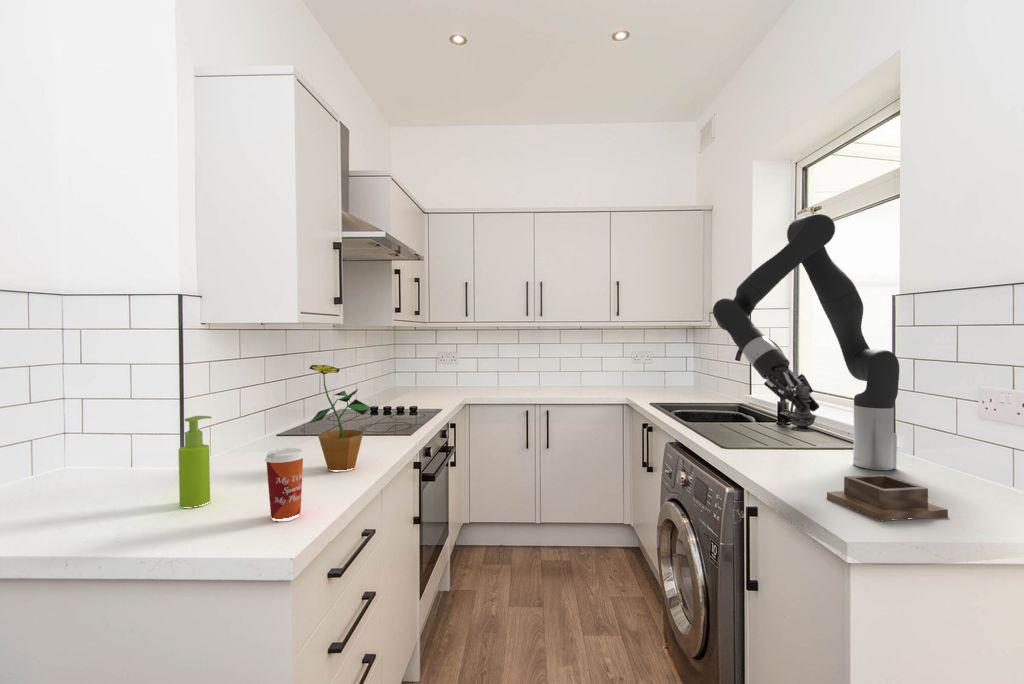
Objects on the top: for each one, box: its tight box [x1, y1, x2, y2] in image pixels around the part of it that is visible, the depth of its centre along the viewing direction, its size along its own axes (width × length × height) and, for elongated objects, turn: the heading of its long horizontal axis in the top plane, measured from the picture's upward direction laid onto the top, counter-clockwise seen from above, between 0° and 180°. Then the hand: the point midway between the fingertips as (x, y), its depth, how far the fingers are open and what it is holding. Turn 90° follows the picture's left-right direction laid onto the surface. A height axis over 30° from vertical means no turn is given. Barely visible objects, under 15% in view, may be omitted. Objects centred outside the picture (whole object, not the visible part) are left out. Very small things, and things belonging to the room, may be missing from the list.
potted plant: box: [308, 364, 371, 470], centre depth 142 cm, size 18×19×30 cm
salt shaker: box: [788, 381, 817, 433], centre depth 122 cm, size 6×6×12 cm
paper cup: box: [264, 447, 305, 519], centre depth 106 cm, size 8×8×14 cm
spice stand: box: [826, 473, 949, 522], centre depth 109 cm, size 16×14×6 cm
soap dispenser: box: [178, 415, 212, 507], centre depth 114 cm, size 6×7×20 cm
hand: (810, 409), depth 121 cm, fingers closed on salt shaker, 3 cm apart
